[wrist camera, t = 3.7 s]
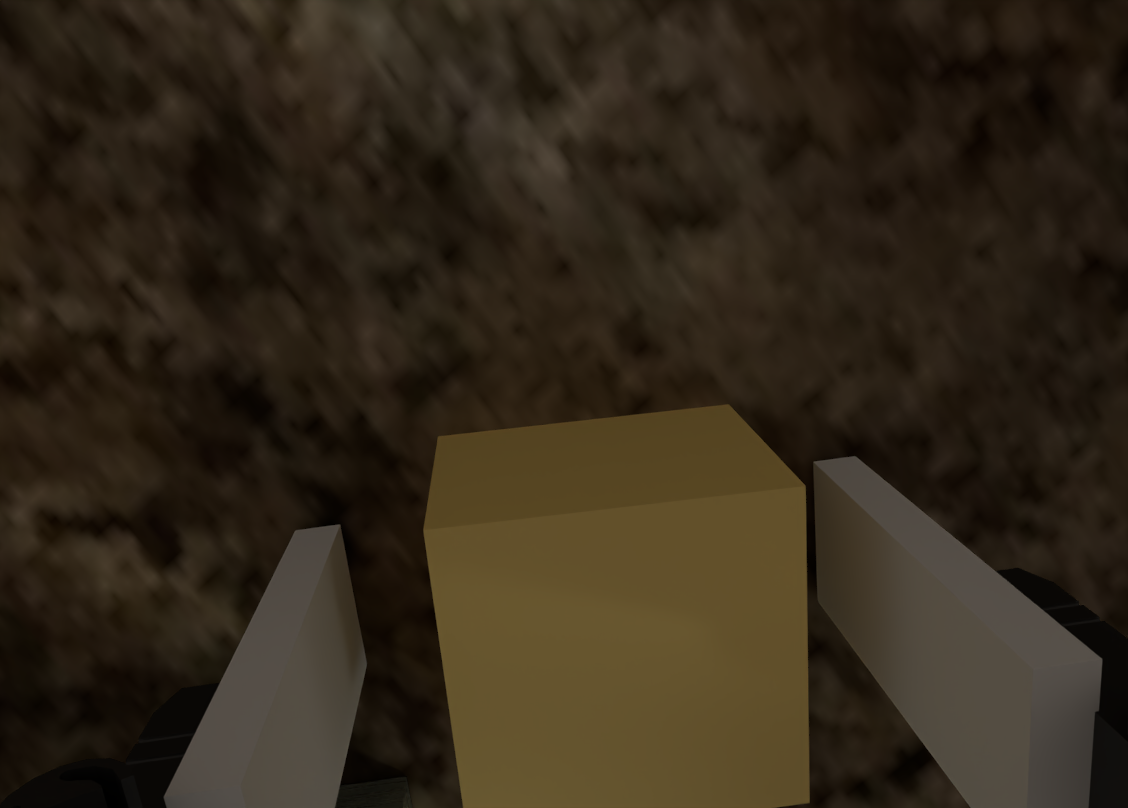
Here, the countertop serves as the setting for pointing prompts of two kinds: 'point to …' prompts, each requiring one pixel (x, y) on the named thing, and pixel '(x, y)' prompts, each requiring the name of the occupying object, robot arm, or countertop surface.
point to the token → (622, 613)
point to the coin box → (375, 794)
